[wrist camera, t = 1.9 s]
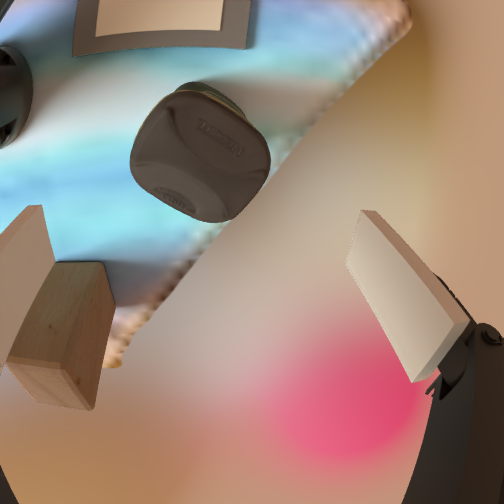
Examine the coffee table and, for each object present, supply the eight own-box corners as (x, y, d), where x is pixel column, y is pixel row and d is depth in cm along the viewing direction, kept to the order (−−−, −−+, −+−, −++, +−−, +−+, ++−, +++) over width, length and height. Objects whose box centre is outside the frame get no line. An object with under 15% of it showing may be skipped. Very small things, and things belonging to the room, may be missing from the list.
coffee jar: (150, 127, 32) (101, 182, 17) (188, 71, 29) (168, 71, 14) (216, 167, 36) (225, 251, 21) (255, 116, 34) (299, 161, 18)
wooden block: (104, 259, 41) (66, 371, 25) (118, 308, 47) (96, 414, 30) (49, 260, 40) (-2, 360, 23) (67, 306, 45) (34, 404, 29)
